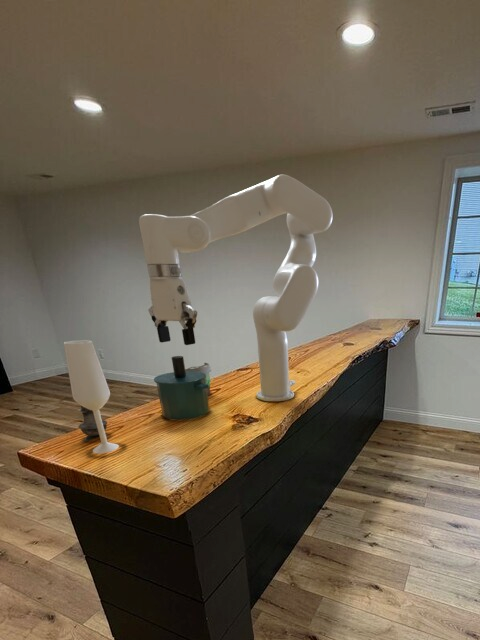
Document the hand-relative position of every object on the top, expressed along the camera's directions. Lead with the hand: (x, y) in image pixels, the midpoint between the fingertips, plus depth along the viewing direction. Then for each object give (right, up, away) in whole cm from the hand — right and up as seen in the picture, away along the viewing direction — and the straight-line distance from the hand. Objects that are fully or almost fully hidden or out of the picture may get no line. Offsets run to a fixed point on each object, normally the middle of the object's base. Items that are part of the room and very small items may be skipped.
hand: (177, 343), depth 93 cm
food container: (-2, -12, +24) cm, 27 cm away
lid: (-1, -9, +4) cm, 10 cm away
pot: (-1, -19, +8) cm, 20 cm away
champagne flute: (-10, -28, -15) cm, 34 cm away
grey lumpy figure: (-16, -26, -9) cm, 31 cm away
